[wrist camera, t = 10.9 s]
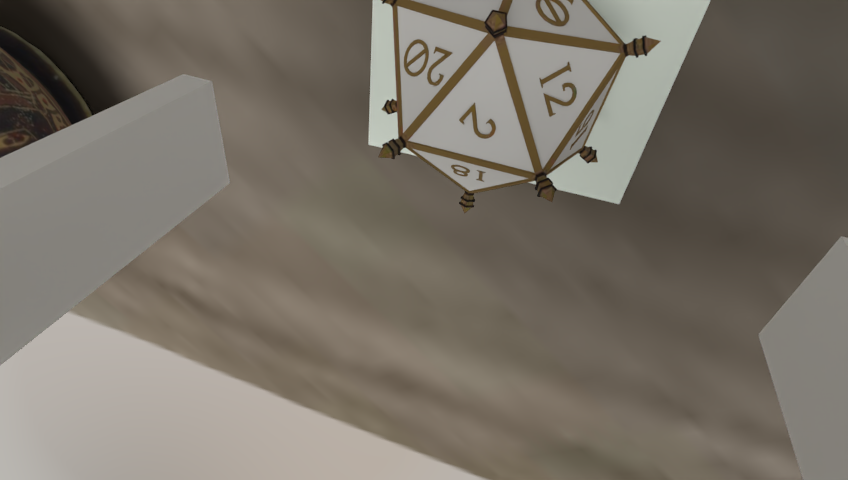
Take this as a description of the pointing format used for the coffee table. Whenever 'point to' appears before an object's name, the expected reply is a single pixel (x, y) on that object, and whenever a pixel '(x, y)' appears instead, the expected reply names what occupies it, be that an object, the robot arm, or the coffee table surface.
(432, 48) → the game die
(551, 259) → the coffee table surface
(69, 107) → the ceramic bowl
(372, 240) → the coffee table surface
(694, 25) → the pale green flat panel
